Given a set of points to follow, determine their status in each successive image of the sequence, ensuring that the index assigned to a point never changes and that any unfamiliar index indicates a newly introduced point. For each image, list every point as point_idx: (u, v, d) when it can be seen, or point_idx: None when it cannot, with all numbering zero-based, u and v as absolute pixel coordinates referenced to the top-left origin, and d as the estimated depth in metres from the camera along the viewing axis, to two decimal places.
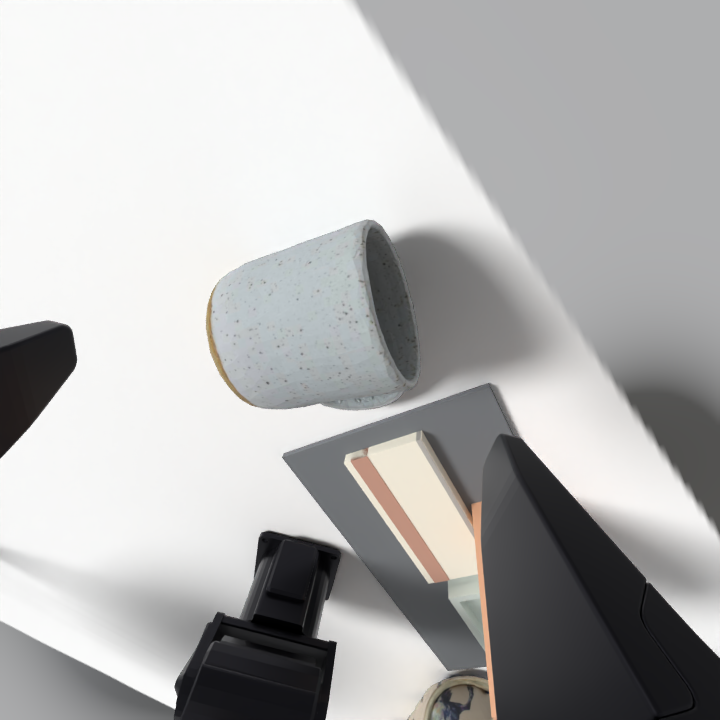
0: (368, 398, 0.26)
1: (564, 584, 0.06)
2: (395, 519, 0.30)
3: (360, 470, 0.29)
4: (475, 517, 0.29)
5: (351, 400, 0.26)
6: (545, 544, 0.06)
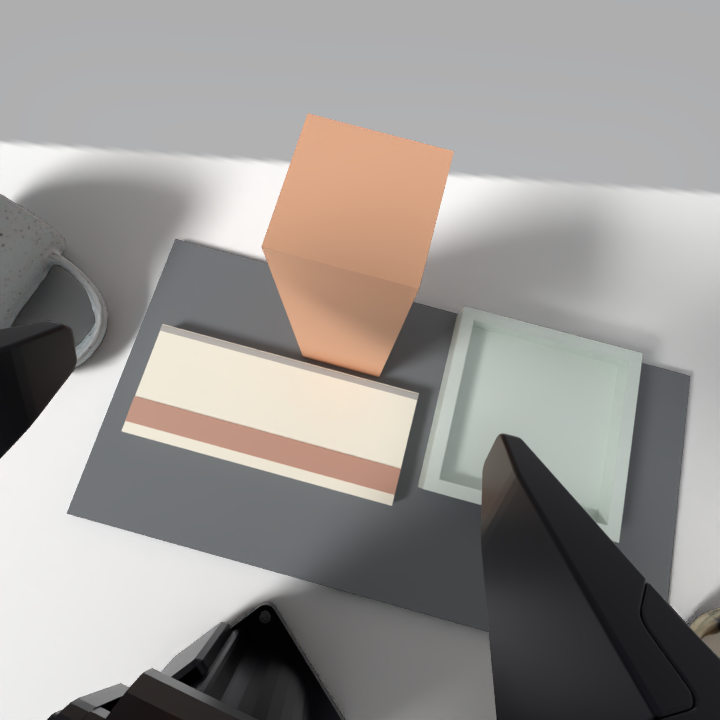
0: (86, 339, 0.22)
1: (564, 584, 0.06)
2: (246, 446, 0.21)
3: (146, 422, 0.21)
4: None
5: None
6: (545, 544, 0.06)
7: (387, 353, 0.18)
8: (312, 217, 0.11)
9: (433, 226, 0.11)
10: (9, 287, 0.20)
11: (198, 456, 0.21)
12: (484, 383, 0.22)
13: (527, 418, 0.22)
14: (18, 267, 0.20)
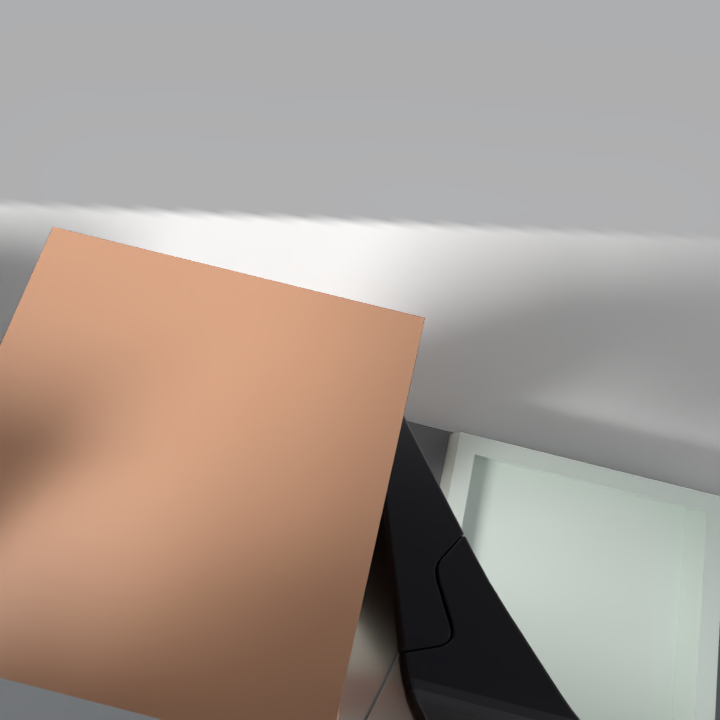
0: None
1: (381, 537, 0.06)
2: None
3: None
4: None
5: None
6: None
7: None
8: (29, 535, 0.04)
9: (371, 544, 0.04)
10: None
11: None
12: (492, 545, 0.15)
13: (557, 598, 0.15)
14: None
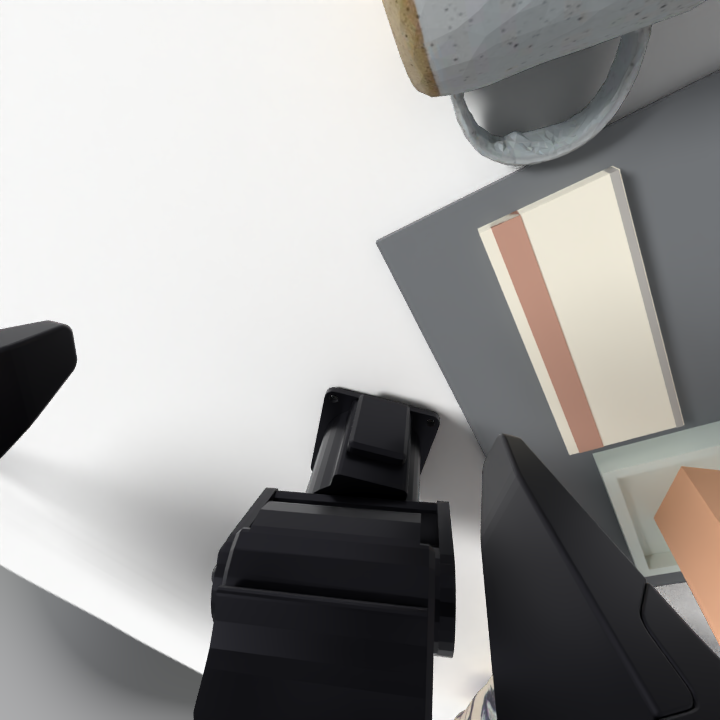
0: (546, 143, 0.17)
1: (564, 584, 0.06)
2: (542, 339, 0.20)
3: (503, 247, 0.19)
4: (696, 483, 0.22)
5: (519, 147, 0.17)
6: (545, 544, 0.06)
7: (699, 604, 0.21)
8: None
9: None
10: (573, 52, 0.13)
11: (501, 300, 0.21)
12: None
13: None
14: (611, 38, 0.13)
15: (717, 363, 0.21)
